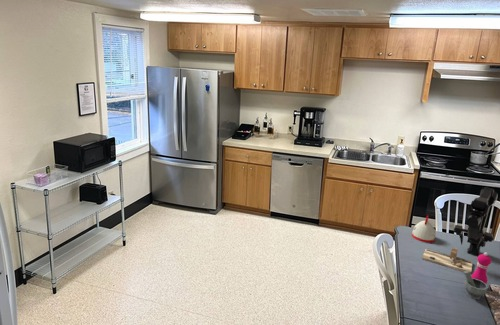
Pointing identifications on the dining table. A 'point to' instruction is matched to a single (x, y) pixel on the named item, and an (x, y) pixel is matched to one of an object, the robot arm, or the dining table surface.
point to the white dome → (424, 231)
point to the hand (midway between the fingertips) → (469, 246)
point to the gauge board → (447, 260)
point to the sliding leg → (453, 254)
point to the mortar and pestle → (474, 286)
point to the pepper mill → (482, 267)
